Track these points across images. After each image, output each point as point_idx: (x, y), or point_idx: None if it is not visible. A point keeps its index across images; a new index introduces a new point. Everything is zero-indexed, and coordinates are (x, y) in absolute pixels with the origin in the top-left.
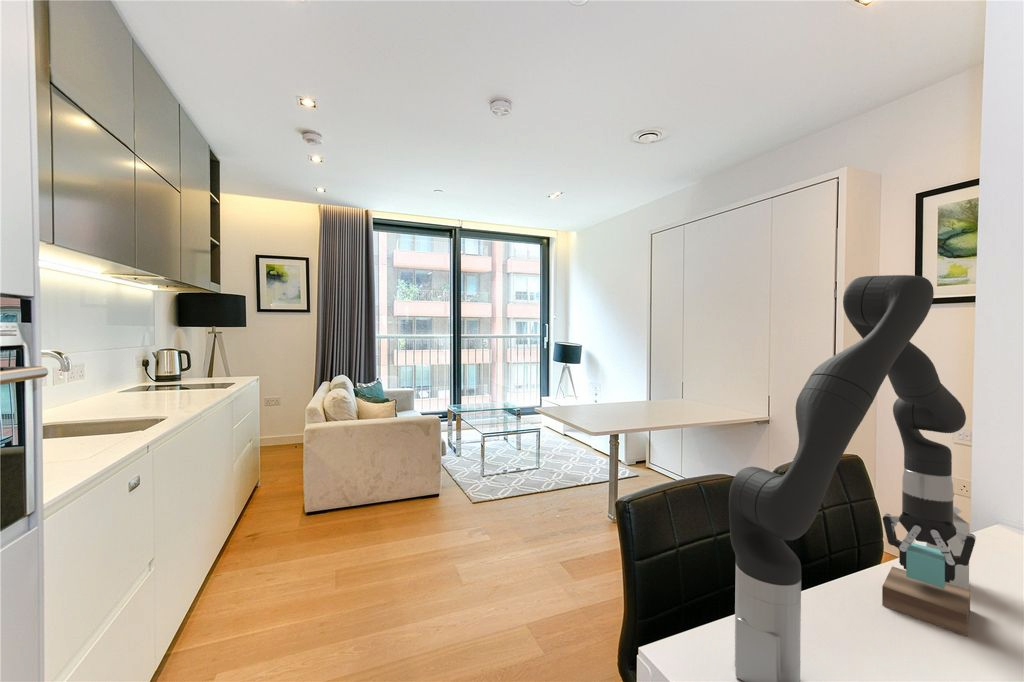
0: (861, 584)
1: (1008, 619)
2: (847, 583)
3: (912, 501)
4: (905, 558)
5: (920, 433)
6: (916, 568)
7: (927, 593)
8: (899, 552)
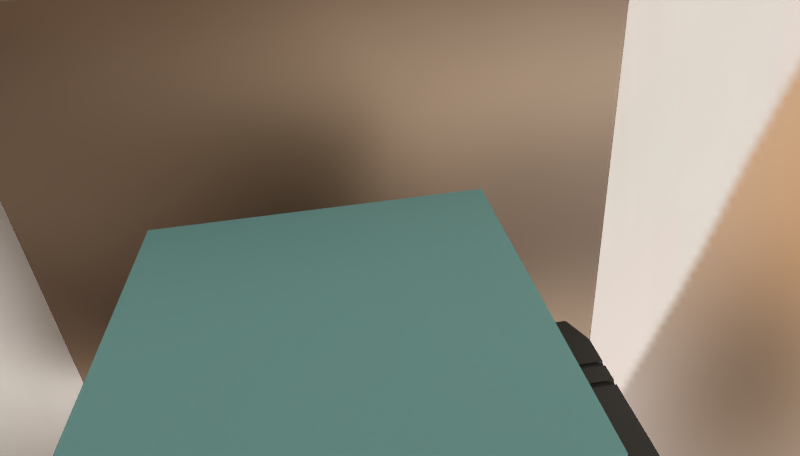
0: (691, 154)
1: (12, 437)
2: (778, 79)
3: None
4: None
5: None
6: (413, 279)
7: (298, 172)
8: (650, 442)
